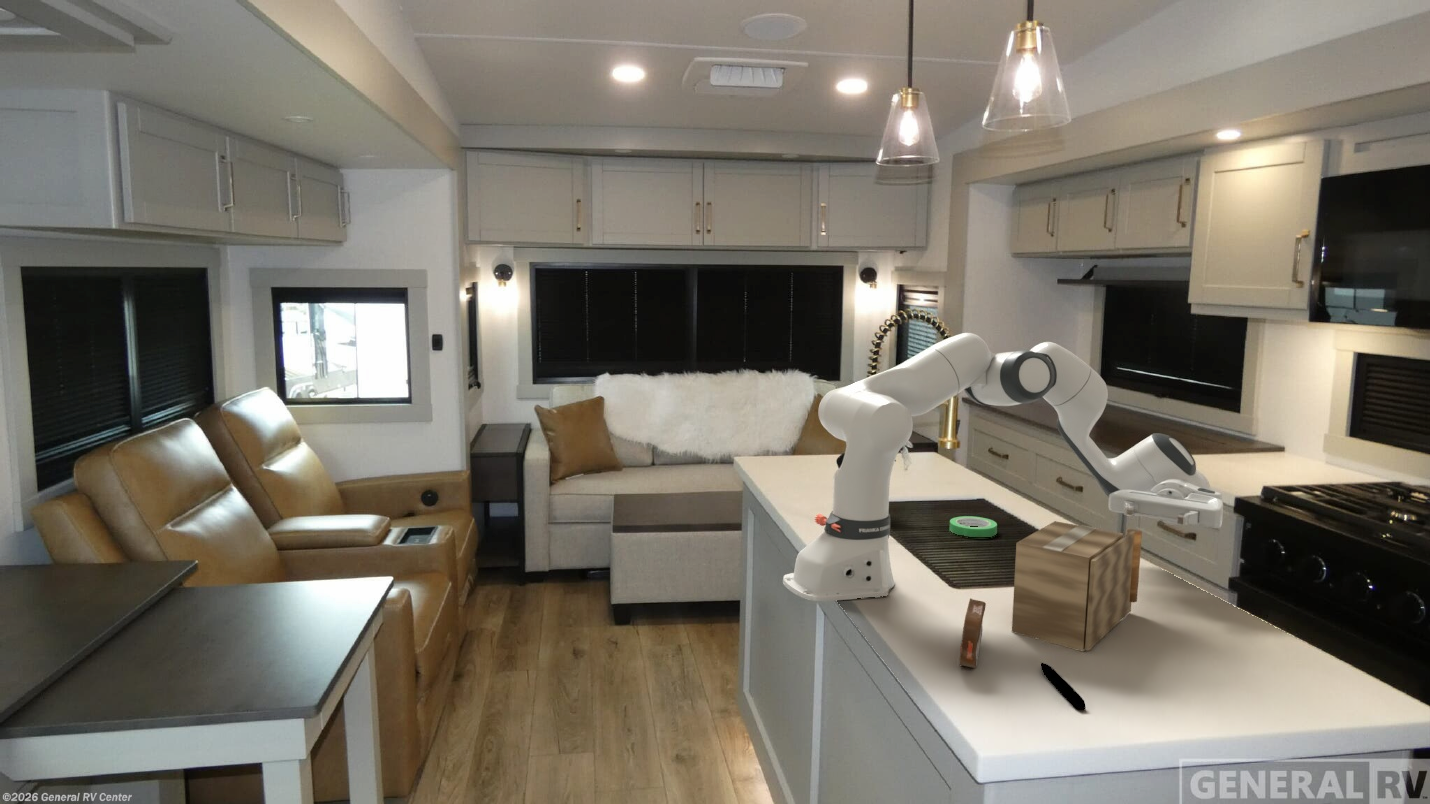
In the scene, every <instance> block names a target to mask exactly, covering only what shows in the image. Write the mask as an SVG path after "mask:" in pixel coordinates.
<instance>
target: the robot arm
mask: <svg viewBox="0 0 1430 804" xmlns="http://www.w3.org/2000/svg"><path fill="white" fill-rule="evenodd" d="M962 391H964V393H966V395H967V397H969V399H970V400H972V401H973V402H974V403H976V404H979V405H981V406H987V407H995V406H996V407H997V406H999V407H1011V406H1017V405H1021V404H1030V403H1033V402H1036V401H1038V400H1040V399H1041V398H1043V399H1044V400H1045V401H1046V402H1047V403H1048V404H1049V405H1051V407H1052V408H1054V410H1055V411H1056V414H1057V419H1056V423H1055V424H1056V427H1057V430H1058V432H1059V434H1060V435H1061V437H1062V438H1063V440H1064V441H1065V442H1066V444H1067V445H1068V447H1069V448H1070V450H1072V452H1073V453H1074V455H1075V456H1076V457H1077V458H1078V460H1080V461H1081V462H1082V464H1083V466H1084V467H1085V468H1086V469H1087V470H1088V472H1089V473H1090V474H1091V475H1092V476H1093V479H1095V481H1096V482H1097V483H1098V485H1099V486H1100V488H1101V490H1102V491H1103V492H1104V493H1105V496H1107V498H1108V507H1107V508H1108V510H1109V511H1111V512H1113V513H1120V514H1123V515H1124V516H1126V517H1127V516H1128V517H1134V516H1137V517H1146V518H1150V519H1156V520H1158V521H1160V522H1162V523H1165V524H1167V525H1172V526H1173V525H1182V526H1187V525H1188V524H1189V525H1194V526H1199V527H1206V528H1213V529H1219V528H1221V527H1222V524H1223V518H1224V517H1223V514H1224V501H1223V495H1222V493H1220V492H1218V491H1215V490H1212V489H1211V485H1210V482H1209V480H1208V478H1207V477H1206V476H1205V475H1204V474H1203V473H1202V471H1201V472H1200V471H1199V470H1197V464H1196V460H1195V458H1194V457H1193V454H1192V453H1191V452H1190V451H1189V450H1188V448H1187V447H1186V446H1185V444H1184V443H1182V442H1181V441H1180V440H1179V439H1178V438H1176V437H1174V436H1170V435H1168V434H1164V433H1159V432H1158V433H1155V432H1154V433H1152V434H1150V435H1149V436H1147V437H1146V438H1144V439H1143V440H1141V441H1140V442H1138V443H1136V444H1134V446H1131V448H1129V449H1127V450H1126V451H1124V452H1123V453H1121V454H1119V455H1118V456H1116V457H1113V458H1108V457H1107V456H1106V455H1105V454H1104V452H1102V449H1100V448H1099V447H1098V445H1097V444H1096V443H1095V441H1094V440H1093V439H1092V438H1091V437H1090V434H1091V431H1092V430H1093V428H1094V426H1095V425H1096V423H1097V422H1098V420H1099V419H1100V418H1101V416H1102V415H1103V413H1104V410H1105V408H1106V407H1107V402H1108V397H1109V394H1108V393H1109V391H1108V387H1107V384H1106V382H1105V380H1104V379H1103V378H1102V376H1101V375H1100V374H1099V373H1098V372H1097V371H1096V370H1094V368H1092V367H1091V365H1089V364H1088V363H1086V362H1085V361H1084V360H1083V359H1081V358H1080V357H1078V356H1077V355H1076V354H1074V353H1073V352H1072V351H1070V350H1069V349H1066V348H1065V347H1063V346H1062V345H1060V344H1058V343H1055V342H1052V341H1045V342H1044V341H1043V342H1040V343H1038V344H1036V345H1034V346H1033V347H1032V348H1031V349H1030V350H1027V349H1020V350H1016V351H1006V352H997V353H994V352H992V351H991V350H990V347H989V346H988V344H987V342H985V340H984V339H983V338H982V337H980V335H978V334H975V333H972V332H963V333H959V334H956V335H953V336H949V337H948V338H945V339H943V340H941V341H939V342H936V343H934V344H932V345H930V346H928V347H927V348H926V349H924V350H921V352H919V353H917V354H915V355H914V356H913V355H912V357H910V358H908V359H906V360H905V361H903V362H901V363H900V364H897V365H896V366H894V367H891V368H889V369H887V370H885V371H881V372H879V373H876V374H873V375H870V376H868V377H865V378H863V379H860V380H858V381H856V382H854V383H852V384H849V385H845V386H842V387H838V388H835V389H832V390H829V391H828V392H827V393H826V394H824V396H823V397H822V398H821V400H820V403H819V406H818V410H817V411H818V412H817V413H818V414H817V415H818V419H819V421H820V424H821V425H822V426H823V428H824V429H825V430H826V431H827V432H828V433H829V434H830V435H831V436H833V437H834V438H835V439H838V440H841V441H844V442H845V445H846V446H845V451H844V453H845V455H844V459H843V462H842V464H841V467H840V468H838V469H837V470H836V471H835V472H834V474H833V481H832V489H833V490H832V511H831V512H830V514H829V516H828V518H827V516H825V515H823V514H820V513H818V514H816V516H815V517H814V522H815V523H816V524H817V525H819V526H821V527H824V531H822V532H821V533H820V534H819V535H818V536H817V537H816V538H815V539H814V540H812V541H811V542H810V543H809V544H807V545H806V546H805V547H804V548H802V549H801V550H800V551H799V552H798V554H797V555H796V559H795V564H794V570H793V572H791V573H786V574H784V575H783V578H782V583H783V586H784V587H785V588H786V589H788V591H790V592H791V593H793V594H794V595H796V596H798V597H800V598H802V599H805V600H808V601H812V602H831V601H843V600H844V601H846V600H858V599H857V598H861V599H865V598H864V597H875V598H884V597H883V596H886V597H888V596H889V594H888V592H889V591H890V590H891V589H893V588H894V587H895V584H896V582H895V579H894V576H893V570H892V566H891V558H890V549H889V547H890V546H889V545H890V544H889V538H890V535H891V514H890V513H889V508H890V507H889V506H890V488H891V487H890V485H891V477H892V472H893V468H894V464H895V463H896V462H895V460H896V458H897V457H898V454H899V451H900V450H901V449H902V448H903V447H904V446H905V445H906V444H907V443H908V441H909V440H910V438H911V436H912V433H913V428H914V421H913V418H912V417H918V416H921V415H925V414H927V413H929V412H930V411H932V410H934V409H935V408H937V407H939V406H940V405H942V404H943V403H945V402H947V401H948V400H950V399H952V398H953V397H955V396H956V395H958V394H960V393H961V392H962ZM890 588H891V589H890ZM889 589H890V590H889ZM887 595H888V596H887ZM880 596H882V597H880ZM862 597H863V598H862Z"/></svg>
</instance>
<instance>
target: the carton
mask: <svg viewBox="0 0 1430 804" xmlns="http://www.w3.org/2000/svg"><path fill="white" fill-rule="evenodd" d="M1123 537H1124V533H1122V532H1116V531H1111V530H1105V529H1100V528H1098V527H1095V526H1089V525H1084V524H1072V523H1067V522H1061V521H1057V520H1055V521H1053V522H1051V523H1049V524H1048V525H1045V526H1044V527H1042V528H1040V529H1039V530H1037V531H1034V532H1033V533H1032V534H1029V535H1028V536H1026V537H1024V538H1022V539H1020V540H1019V541H1017V542H1016V547H1015V548H1016V549H1015V560H1014V561H1015V563H1014V566H1015V567H1014V581H1013V583H1014V584H1013V586H1014V587H1013V598H1012V599H1013V600H1012V602H1013V604H1012V616H1011V617H1012V621H1011V623H1012V624H1011V633H1015V634H1018V635H1022V636H1025V637H1029V638H1032V639H1036V640H1040V641H1044V642H1047V643H1050V644H1054V645H1059V646H1062V647H1066V648H1069V649H1073V650H1076V651H1081V652H1084V651H1086V650H1085V642H1086V627H1087V612H1088V596H1089V581H1090V566H1091V560H1092V559H1094V558H1095V557H1096V556H1098V555H1099V554H1101V553H1102V552H1103V551H1105V550H1106V549H1108V548H1109V547H1110V546H1112V545H1113V544H1115V543H1116V542H1117V541H1119V540H1120V539H1122V538H1123Z"/></svg>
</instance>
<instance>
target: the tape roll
mask: <svg viewBox="0 0 1430 804" xmlns="http://www.w3.org/2000/svg"><path fill="white" fill-rule="evenodd" d="M970 526H978V527H970ZM950 531H951V532H952V533H951V532H950ZM949 532H950V533H951V534H953V533H955V534H957V535H956V536H958V535H964V536H969V537H991V538H993V537H992V536H994V535H996V534H997V533H998V523H997V522H996V521H995V520H993V519H990V518H986V517H982V516H981V517H980V516H972V515H970V516H969V515H968V516H967V515H964V516H957V517H953V518H950V520H949ZM955 534H954V535H955ZM996 536H997V535H996ZM994 537H995V536H994Z"/></svg>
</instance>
